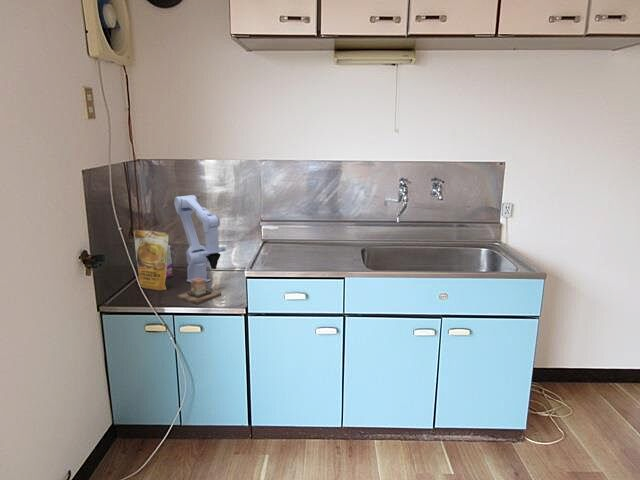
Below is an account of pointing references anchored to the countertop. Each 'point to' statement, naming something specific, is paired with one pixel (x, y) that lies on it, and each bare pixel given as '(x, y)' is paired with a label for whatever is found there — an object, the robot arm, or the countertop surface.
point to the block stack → (198, 286)
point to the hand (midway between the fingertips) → (213, 268)
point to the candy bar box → (169, 264)
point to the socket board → (199, 296)
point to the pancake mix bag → (151, 258)
